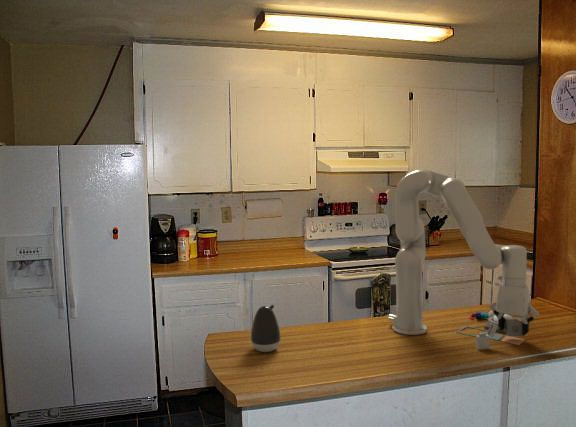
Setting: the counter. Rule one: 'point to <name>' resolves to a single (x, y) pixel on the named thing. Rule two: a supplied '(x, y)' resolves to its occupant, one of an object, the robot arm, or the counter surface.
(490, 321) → the dome base
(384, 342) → the counter surface
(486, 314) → the toy figure
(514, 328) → the dice cube
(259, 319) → the pump dispenser
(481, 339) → the lighter
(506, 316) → the dome
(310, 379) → the counter surface
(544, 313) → the counter surface
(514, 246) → the robot arm
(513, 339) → the sorting mat
